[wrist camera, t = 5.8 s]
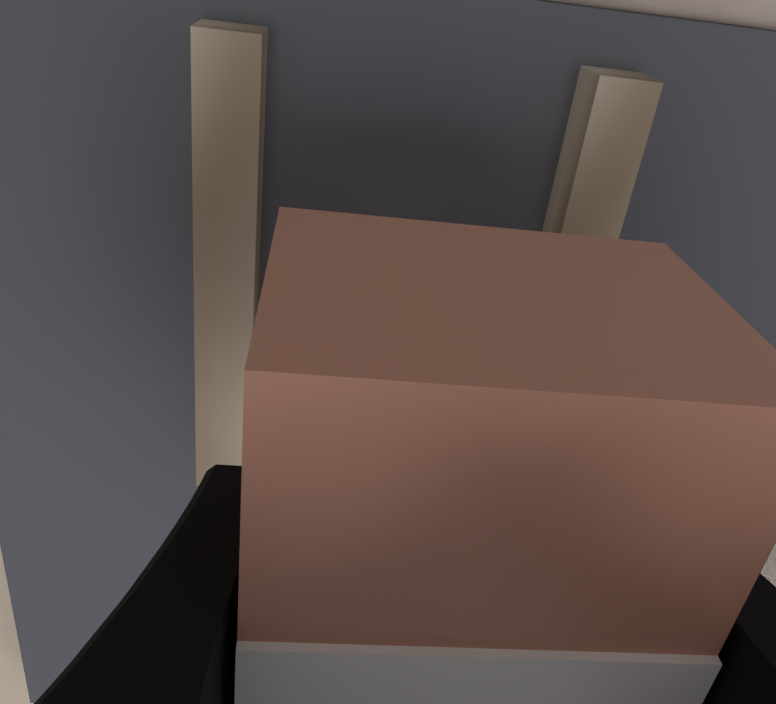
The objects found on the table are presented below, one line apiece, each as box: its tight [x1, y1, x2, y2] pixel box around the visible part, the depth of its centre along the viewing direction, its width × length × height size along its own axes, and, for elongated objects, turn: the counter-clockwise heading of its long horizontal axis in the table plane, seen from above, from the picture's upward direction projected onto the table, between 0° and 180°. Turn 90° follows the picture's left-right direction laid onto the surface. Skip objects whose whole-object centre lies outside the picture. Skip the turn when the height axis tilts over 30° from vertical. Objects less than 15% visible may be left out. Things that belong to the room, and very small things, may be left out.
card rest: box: [190, 19, 664, 486], centre depth 16 cm, size 8×10×1 cm
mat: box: [0, 0, 776, 703], centre depth 19 cm, size 19×21×1 cm
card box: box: [234, 207, 776, 704], centre depth 9 cm, size 8×4×4 cm, turn 173°
